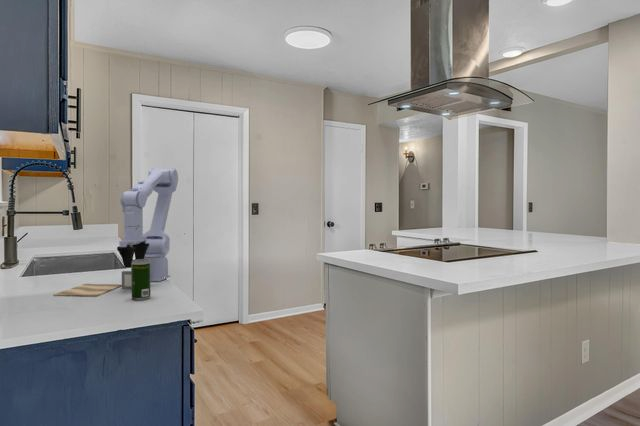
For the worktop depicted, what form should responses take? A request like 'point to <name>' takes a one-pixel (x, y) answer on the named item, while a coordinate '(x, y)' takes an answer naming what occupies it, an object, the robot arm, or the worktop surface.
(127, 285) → the tile
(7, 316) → the worktop surface
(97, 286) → the mat
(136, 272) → the guarana soda can
